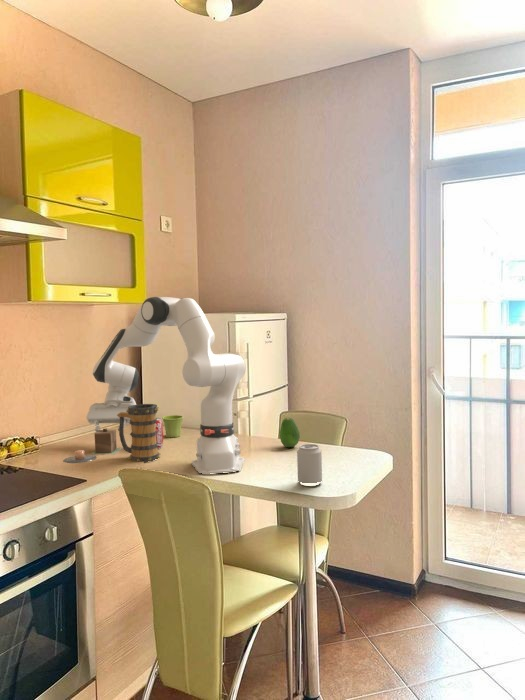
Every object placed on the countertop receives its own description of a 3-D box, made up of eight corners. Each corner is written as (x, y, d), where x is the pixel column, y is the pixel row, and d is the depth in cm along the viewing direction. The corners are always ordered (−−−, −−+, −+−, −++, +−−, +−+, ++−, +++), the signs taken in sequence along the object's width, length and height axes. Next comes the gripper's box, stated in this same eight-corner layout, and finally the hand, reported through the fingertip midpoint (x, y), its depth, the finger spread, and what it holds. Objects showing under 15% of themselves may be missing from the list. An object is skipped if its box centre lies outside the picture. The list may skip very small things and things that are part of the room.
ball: (83, 459, 208) (83, 451, 208) (74, 460, 208) (73, 452, 208) (85, 457, 212) (85, 449, 212) (76, 458, 211) (75, 450, 211)
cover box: (101, 449, 225) (100, 427, 224) (116, 449, 224) (115, 427, 224) (95, 453, 218) (94, 430, 218) (111, 453, 218) (110, 430, 217)
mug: (153, 464, 201) (150, 409, 200) (110, 462, 205) (107, 408, 204) (167, 455, 213) (165, 403, 212) (127, 453, 217) (125, 403, 216)
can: (320, 480, 175) (319, 442, 174) (324, 487, 167) (323, 447, 167) (296, 481, 174) (295, 443, 174) (299, 488, 167) (298, 448, 166)
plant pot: (188, 435, 250) (187, 416, 249) (174, 439, 242) (173, 419, 241) (172, 433, 254) (171, 414, 254) (158, 437, 247) (157, 418, 246)
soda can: (165, 446, 229) (164, 417, 228) (160, 450, 222) (159, 420, 221) (148, 446, 230) (147, 417, 229) (143, 450, 223) (142, 420, 222)
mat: (114, 455, 216) (114, 454, 216) (89, 455, 217) (89, 454, 217) (122, 449, 226) (122, 448, 226) (98, 449, 227) (98, 448, 227)
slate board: (93, 463, 205) (93, 461, 205) (59, 465, 203) (59, 463, 203) (99, 455, 217) (99, 454, 217) (67, 457, 215) (67, 456, 215)
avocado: (276, 447, 220) (275, 417, 220) (290, 444, 225) (289, 415, 225) (289, 451, 214) (288, 420, 213) (304, 447, 219) (303, 417, 218)
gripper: (88, 399, 232) (80, 426, 223) (137, 397, 231) (131, 425, 221) (93, 407, 237) (85, 435, 227) (140, 406, 235) (134, 434, 226)
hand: (108, 430), depth 224 cm, fingers open, 8 cm apart
